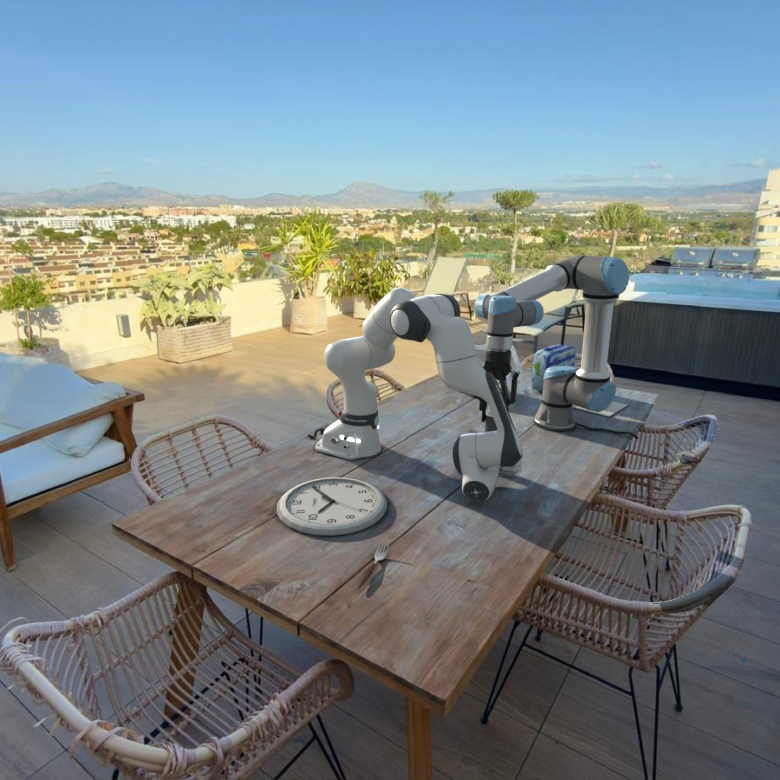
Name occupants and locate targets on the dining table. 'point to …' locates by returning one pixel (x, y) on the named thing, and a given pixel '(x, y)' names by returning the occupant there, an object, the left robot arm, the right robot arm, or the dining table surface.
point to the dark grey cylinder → (490, 424)
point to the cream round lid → (488, 412)
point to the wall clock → (331, 506)
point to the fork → (378, 557)
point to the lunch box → (550, 362)
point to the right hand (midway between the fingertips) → (492, 422)
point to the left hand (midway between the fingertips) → (490, 449)
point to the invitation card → (607, 409)
